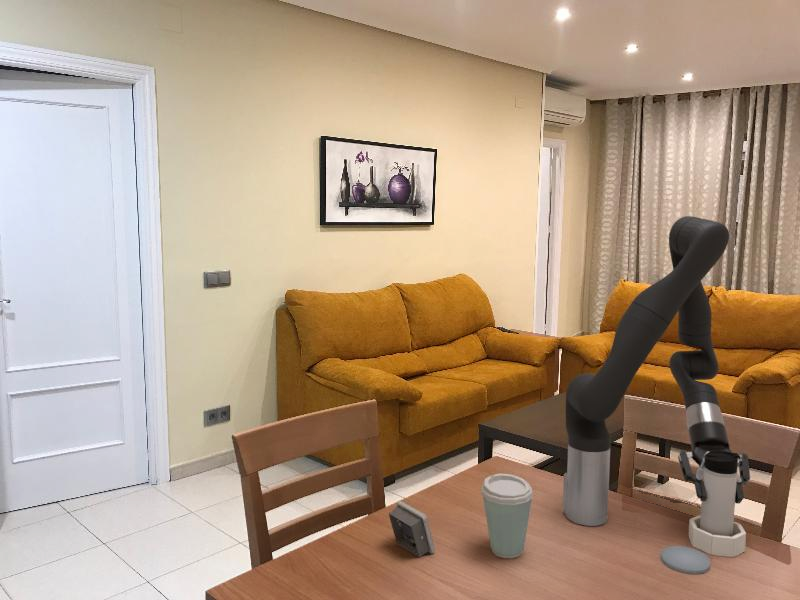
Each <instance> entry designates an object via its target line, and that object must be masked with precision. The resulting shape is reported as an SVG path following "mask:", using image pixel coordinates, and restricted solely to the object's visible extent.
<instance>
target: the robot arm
mask: <svg viewBox="0 0 800 600" xmlns="http://www.w3.org/2000/svg"><path fill="white" fill-rule="evenodd" d="M729 240H730V232H729V229H728V227H727V225H725V224H723V223H721V222H718V221H715V220H711V219H710V220H709V219H706V218H702V217H697V216H692V215H691V216H690V215H686V216H682V217H679V218H678V219H677V220H676V221H675V222H674V223H673V224H672V225H671V228H670V231H669V235H668V246H669V252H670V253H669V254H670V259H671V264H672V270H671V271H670V272H669V273H668V274H667V275H666V276H664V277H663V278H661V279H659V280H657V281H656V282H654V283H653V284H651V285H650V286H648V287H647V288H645V289H644V290H642V291H641V292H640V293H638V294H637V295H636V296H635V298H634V299H633V300H632V301H631V303H630V304H629V305H628V307H627V309H626V310H625V312H624V313H623V315H622V316H621V318H620V319H619V322H618V324H617V327H616V330H615V333H614V336H613V341H612V345H611V349H610V351H609V354H608V356H607V358H606V360H605V361H604V363H603V365H602V366H601V367H600V368H599V370H598V371H597V373H596V374H592V373H587V372H586V373H580V374H578V375H576V376H574V377H573V378H572V379H571V380H570V382H569V383H568V385H567V387H566V393H565V428H566V432H567V433H566V434H567V437H568V438H567V439H568V441H567V465H566V466H567V468H566V469H567V470H566V472H565V473H564V474H563V484H562V485H563V489H562V490H563V491H562V513H563V514H565V516H566V517H567V520H569V521H571V522H572V523H575V524H578V525H583V526H587V527H596V526H602V525H604V524H606V523H607V522H608V509H609V508H608V507H609V492H610V491H609V490H610V489H609V487H610V486H609V485H610V462H611V459H610V458H611V434H610V433H609V430H608V428H607V425H606V420H607V419H608V418H610V417H612V415H613V414H614V413H615V411H616V409H618V406H619V404H620V403H621V402H622V399H623V398H624V396H625V394H626V393H627V390H628V388H629V387H630V384H631V383H632V381H633V379H634V377H635V376H636V374H637V372H638V371H639V370H640V368H641V366H643V363H644V362H645V361H646V359H647V358H648V356H649V355H650V353H651V352H652V350H653V349H654V347H655V346H656V345H657V343H658V342H659V341H660V339H661V338H662V336H663V335H664V334H665V332H666V330H668V328H669V327H670V324H671V323H672V321H673V320H674V318H675V317H676V315H677V314H678V315H677V316H678V317H677V320H678V321H677V322H678V323H677V328H678V329H677V333H678V335H677V336H678V340H679V342H680V343H681V344H683V345H686V346H689V347H693V348H694V347H695V348H699V349H698V350H678V351H676V352H674V353H672V355H671V356H670V359H669V361H668V362H669V363H668V364H669V365H668V366H669V369H670V372H671V374H672V377H673V379H674V380H675V382H676V384H677V385H678V387H679V389H680V391H681V393H682V396H683V401H684V402H683V403H684V406H685V412H686V413H685V414H686V427H687V430H688V435H689V441H690V446H691V451H685V450H681V451H680V452H679V454H678V456H677V459H678V462H679V467H680V469H681V472H682V475H683V479H684V480H685V481H687V482H689V481H690V482H692V483H693V484H694V487H695V494H696V497H697V499H699V500H700V502H702V501H705V500H706V498H707V496H706V491H705V486H704V481H703V473H704V463H705V455H706V453H708V452H712V451H727V452H731V453H733V451H732V450H731V448H730V443H729V438H728V433H727V429H726V425H725V421H724V416H723V413H722V411H721V408H720V403H719V400H718V395H717V391H716V388H715V386H713V384H710V383H707V382H704V381H708V380H709V381H710V380H712V379H714V378H715V377H716V376H717V375H718V373H719V367H720V366H719V362H718V361H719V360H718V359H717V355H716V352H715V349H714V345H713V341H712V309H711V304H710V300H709V298H708V295H707V292H706V290H705V288H704V286H703V283H702V281H703V279H704V278H705V277H706V276H707V274H709V272H710V271H711V270H712V268H713V267H714V266H715V265H716V264H717V262H718V261H719V260H720V259H721V257H722V256H723V254H724V253H725V251H726V249H727V246H728V245H729ZM701 380H702V381H701ZM738 455H739V456H740V459H739V458H738V465H737V467H738V468H739V469H738V470H739V472H738V473H739V474H738V473H737V482H736V496H735V504H741V503H742V501H743V500H744V498H745V494H744V490H743V485H746V484H747V483H748V482H749V481H750V480H751V474H750V473H751V472H750V464H749V457H748V455H747V454H746V453H742V454H741V455H740V454H738ZM691 459H692V460H693V461H694V462H695V463H696V464H697V465H698V468H697V470H696V473H693V470H692V467H691V464H690V462H691Z"/></svg>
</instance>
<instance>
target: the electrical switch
mask: <svg viewBox="0 0 800 600" xmlns="http://www.w3.org/2000/svg"><path fill="white" fill-rule="evenodd" d="M395 505H396V507H394V508H393V509H392V510H391V511H390V512H388V517H389V520H390V524H391V528H392V530H393V536H394V538H395V542H396V544H398V545H399V546H401V547H402V546H403V547H402V548H404V549H405V550H406V551H408V552H409V553H411V554H413V555H414V556H416V557H417V558H421V557H422V556H424V555H425V554H427V553H429V554H431V555H432V554H434V553H435V551H436V547H435V544H434V543H435V542H434V539H433V536H432V531H431V528H430V524H429V519H428V517H427V515H426V514H425V513H424V512H422V511H419V510H418V509H416V508H414V507H412V506H411V505H409V504H407V503H405V502H404V501H402V500H398V501H397V502H395Z"/></svg>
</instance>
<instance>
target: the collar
mask: <svg viewBox="0 0 800 600" xmlns="http://www.w3.org/2000/svg"><path fill="white" fill-rule="evenodd" d="M700 516H701V514H699V515H697V516H694V517H691V518H689V523H688V539H689V542H690V543H691V546H692V547H694V549H695V548H696V549H698V550H699V551H701V552H702V551H703V552H704V553H707V554H708V555H710V556H718V557H727V558H735V557H737V556H739V555H741V554H744V553H745V552H746V543H747V541H746V540H747V532H746V531H745V529H744V528H743V525H741V523H739V522H737V521H734V522H733V535H732V537H730V536H720V535H712V534H710V533H708V532H706V531H703V530H701V529H700ZM743 552H744V553H743Z"/></svg>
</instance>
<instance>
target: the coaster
mask: <svg viewBox="0 0 800 600" xmlns="http://www.w3.org/2000/svg"><path fill="white" fill-rule="evenodd" d="M660 556H661V557H660V558H661V562H662V563H663V564H664V565H665V566H666V567H668V568H669V569H672V570H674V571H676V572H680V573H683V574H689V575H701V574H705V573H707V572H709V571H710V569H711V560H710V557H708V556H707V554H705V553H703V552H702V551H701V550H699V549H698V550H697V549H695V548H692V547H688V546H683V545H670V546H666V547H664V548H663V549H662V550H661V552H660Z"/></svg>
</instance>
